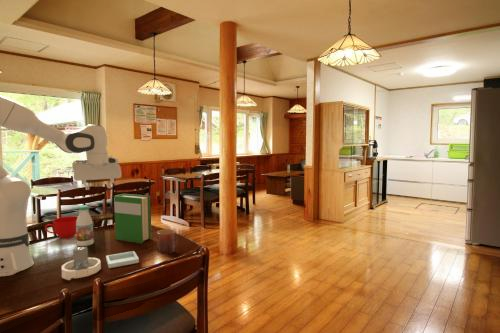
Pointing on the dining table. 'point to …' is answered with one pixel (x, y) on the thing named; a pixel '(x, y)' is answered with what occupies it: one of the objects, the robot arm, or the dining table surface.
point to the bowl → (70, 273)
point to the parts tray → (122, 259)
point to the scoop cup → (80, 258)
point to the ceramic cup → (64, 227)
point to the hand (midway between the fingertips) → (98, 188)
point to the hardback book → (132, 217)
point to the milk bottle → (84, 227)
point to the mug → (166, 240)
